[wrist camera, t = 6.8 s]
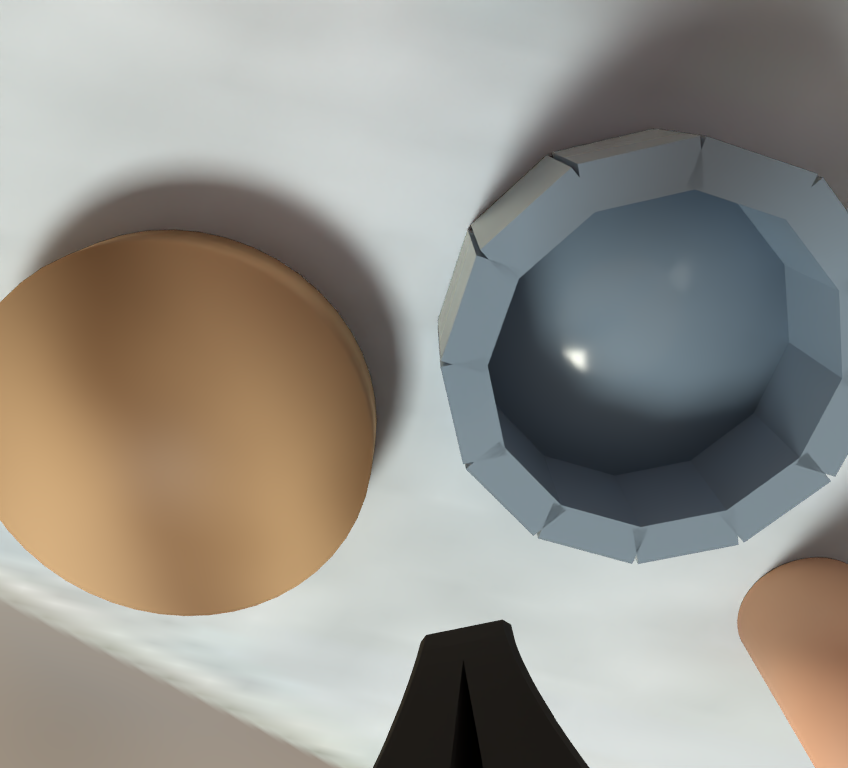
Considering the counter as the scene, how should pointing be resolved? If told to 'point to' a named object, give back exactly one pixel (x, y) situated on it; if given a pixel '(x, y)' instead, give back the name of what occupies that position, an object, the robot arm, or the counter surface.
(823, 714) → the peg
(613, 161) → the bowl
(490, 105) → the counter surface
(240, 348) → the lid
